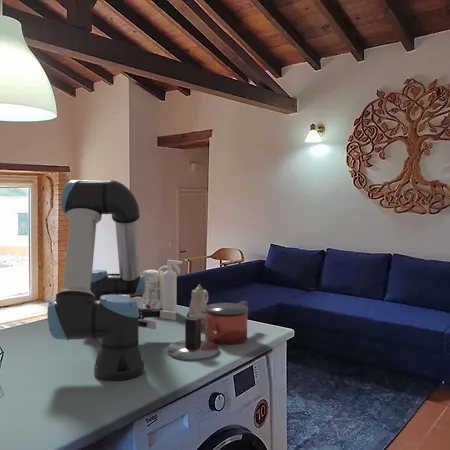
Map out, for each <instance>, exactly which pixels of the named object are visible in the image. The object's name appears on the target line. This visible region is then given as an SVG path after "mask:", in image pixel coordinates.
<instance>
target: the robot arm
mask: <svg viewBox="0 0 450 450" xmlns="http://www.w3.org/2000/svg"><path fill="white" fill-rule="evenodd" d="M60 200H61V204H60V205H61V211H62V212H63V214H65V219H67V220H68V221H69V223H68V225H69V226H68V234H67V241H66V242H67V243H66V250H65V251H66V252H65V259H64V268H63V277H62V278H63V279H62V287H61V290H59V291H58V292H57V293H56V295H55V300H54V299H52V300H50V301H49V302H48V305H47V316H46V317H47V324H48V326H47V327H48V330H49V332H50V335H51V337H52V338H53V339H55V340H65V341H70V340H99V349H98V352H97V356H96V359H95V363H94V366H93V371H94V372H93V374H94V376H95V377H96V378H98V379H100V380H104V381H105V380H106V381H125V380H130V379H134V378H137V377H140V376H141V375H142V374H143V373H144V371H145V361H144V359H143V356H142V352H141V349H140V347H139V346H140V345H139V329H140V328H144V329H151V330H156V329H157V320H151V319H147V318H160V319H167V320H172V321H175V320H176V319H177V311H176V312H170V311H163V309H162V308H160V309H143V307H142V308H141V307H139V303H138V301H137V300H136V299H135V298H133V297H131V296H137V295H143V294H144V293H145V276H144V275H143V274H142V275H141V274H140V258H139V257H140V254H139V235H138V233H139V232H138V231H139V230H138V221H139V220H140V206H139V203H138V200H137V198H136V196H135V195H134V193H133V192H132V191H131V190H130V189H129V188H128V187H127V186H126V185H125V184H123V183H121V182H119V181H117V180H111V179H110V180H109V179H108V180H101V179H100V180H99V179H97V180H96V179H95V180H94V179H93V180H92V179H90V180H89V179H86V180H85V179H73V180H72V179H71V180H69V181H68V182H66V184H64V188H63V189H62V193H61V199H60ZM103 215H111V219H112V221H113V222H114V223H115V234H116V245H117V246H116V247H117V257H118V258H117V259H118V269H119V272H118V273H119V274H120V275H108V274H109V273H108V271H107V270H106V269H93V265H94V253H95V244H96V243H95V241H96V233H97V231H96V230H97V224H98V223H100V222H101V221H102V217H103ZM145 318H146V319H145Z"/></svg>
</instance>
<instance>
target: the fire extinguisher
mask: <svg viewBox="0 0 450 450" xmlns="http://www.w3.org/2000/svg"><path fill="white" fill-rule="evenodd" d="M182 264H183V261H181V260H174V259H173V260H172V259H167V261H166V265H163V266H161V267H159V268H158V271H159V272H158V276H159V281H160V301H159V302H158V303H157V305H156V307H155V309H160V308H161V306H162V309H163V311H170V312H176V313H177V291H178V290H177V287H178V286H177V283H178V282H177V281H178V280H177V276H178V275H179V274H181V269H180V267H179V265H182ZM172 266H173V267H174V268H175V269H176V271H177V273H178V275H177V273H176V272H175V271H174V270H173V267H172ZM163 269H166V270H165V271H163V281H162V280H161V275H160V273H161V271H162V270H163Z"/></svg>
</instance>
